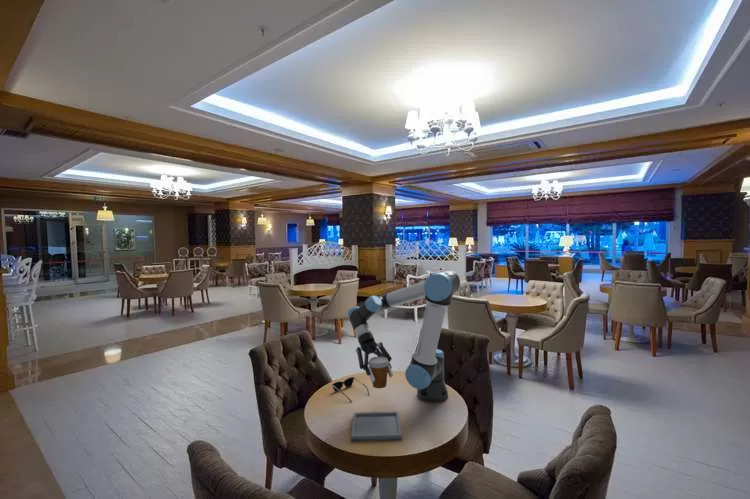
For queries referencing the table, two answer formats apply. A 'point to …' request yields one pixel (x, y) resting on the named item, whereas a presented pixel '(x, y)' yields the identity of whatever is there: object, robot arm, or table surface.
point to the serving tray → (376, 426)
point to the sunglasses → (347, 383)
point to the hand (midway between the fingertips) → (382, 378)
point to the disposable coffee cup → (379, 371)
